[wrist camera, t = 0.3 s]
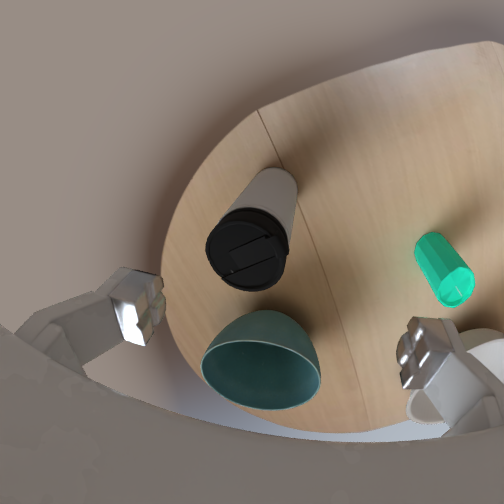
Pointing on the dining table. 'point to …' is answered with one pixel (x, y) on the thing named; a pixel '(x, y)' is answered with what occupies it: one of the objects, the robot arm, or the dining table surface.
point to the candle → (444, 270)
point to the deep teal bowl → (263, 362)
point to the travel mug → (255, 232)
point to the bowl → (480, 346)
